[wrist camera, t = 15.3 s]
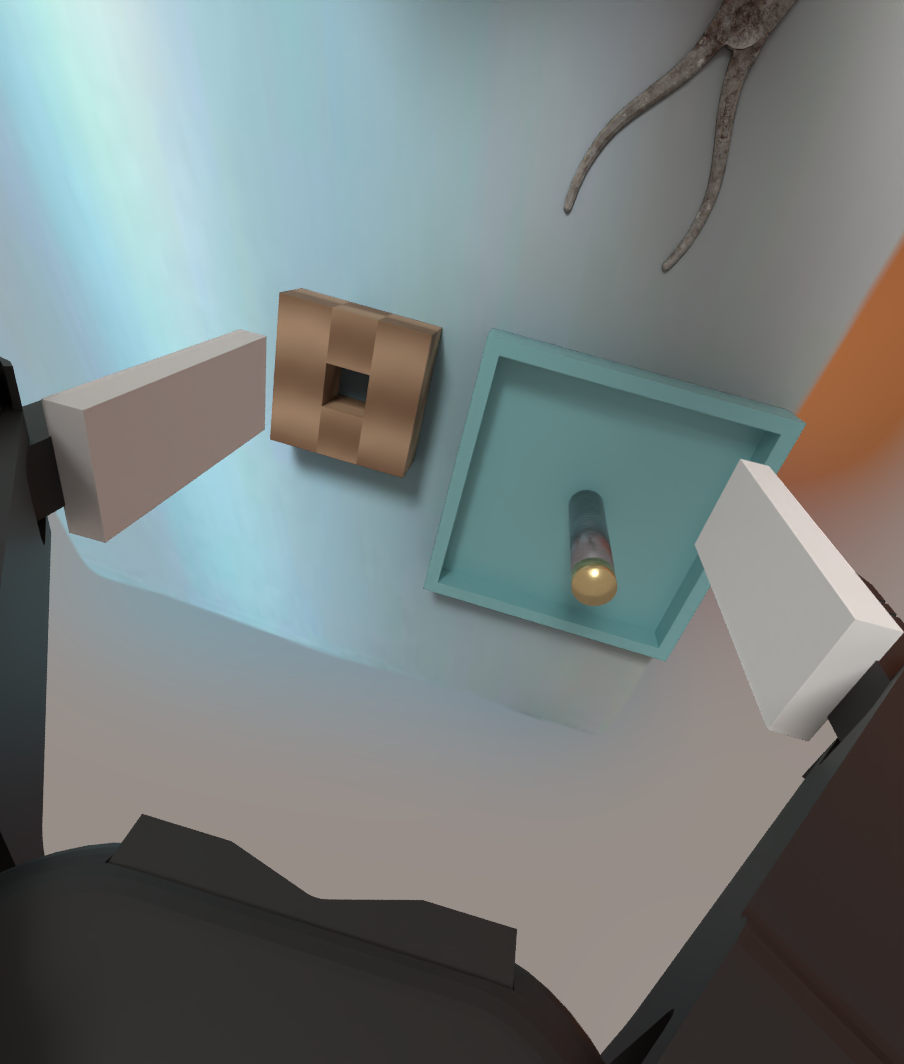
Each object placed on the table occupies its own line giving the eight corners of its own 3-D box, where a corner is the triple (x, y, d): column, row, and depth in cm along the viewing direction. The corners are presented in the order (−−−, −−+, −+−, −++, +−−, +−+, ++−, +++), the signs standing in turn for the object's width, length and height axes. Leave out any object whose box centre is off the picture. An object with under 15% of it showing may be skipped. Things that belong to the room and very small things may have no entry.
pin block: (301, 288, 44) (279, 292, 41) (442, 327, 44) (432, 335, 40) (290, 425, 50) (270, 439, 47) (413, 461, 50) (402, 478, 46)
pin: (575, 485, 47) (580, 563, 36) (608, 495, 47) (624, 576, 36) (563, 515, 49) (565, 598, 37) (596, 524, 49) (607, 611, 37)
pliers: (553, 235, 39) (687, -175, 29) (553, 235, 40) (684, -165, 30) (682, 276, 39) (861, -122, 29) (679, 276, 40) (854, -113, 30)
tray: (492, 328, 43) (487, 334, 40) (788, 410, 42) (806, 423, 39) (430, 569, 55) (423, 588, 52) (659, 637, 54) (665, 661, 51)
